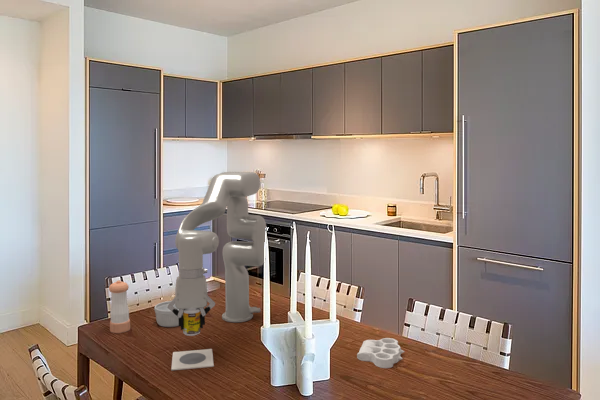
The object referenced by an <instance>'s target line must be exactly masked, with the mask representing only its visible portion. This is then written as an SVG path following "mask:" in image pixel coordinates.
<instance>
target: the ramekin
mask: <svg viewBox="0 0 600 400" xmlns="http://www.w3.org/2000/svg"><path fill="white" fill-rule="evenodd" d="M171 301H172V300H166V301H162V302H159V303H157V304H155V306H154V314H155V320H156V322H157V324H158V325H159V326H161V327H163V328H174V327H175V328H176V327H179V319H178V317H177V316H176V315H175V314H174V313H173V312H172V311H171V310H169V309H168V308H167V306H168V304H169V303H170V302H171ZM173 307H174V308H176V305H175V304H174V305H173ZM176 309H177V310H178V311H179V309H178V308H176ZM182 315H183V313H182Z"/></svg>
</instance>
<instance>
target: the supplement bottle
mask: <svg viewBox="0 0 600 400" xmlns="http://www.w3.org/2000/svg"><path fill="white" fill-rule="evenodd" d="M200 314H201V311H200V309H199V308H189V309H184V310H183V330H182V333H183V334H184V335H185V336H190V337H192V336H196V335H199V334H200V333H201V329H202V328H201V323H200Z"/></svg>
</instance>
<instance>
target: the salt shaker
mask: <svg viewBox="0 0 600 400" xmlns="http://www.w3.org/2000/svg"><path fill="white" fill-rule="evenodd" d="M129 287H130V286H129V284H128V283H127V282H125V281H121V280H116V281H115V282H113V283H111V284H110V285H109V287H108V291H109V293H111V294H110V295H111V296H110V297H111V298H110V299H111V303H110V312H109V314H110V321H109V331H110V332H111V333H112V334H121V333H122V334H123V333H125V332H128V331H130V330H131V319H130V309H129V305H128V297H127V296H128V295H127V293H128V292H127V291H128V290H129V289H130V288H129Z"/></svg>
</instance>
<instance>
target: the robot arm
mask: <svg viewBox="0 0 600 400" xmlns="http://www.w3.org/2000/svg"><path fill="white" fill-rule="evenodd" d="M260 187H261V178H260V176H259V175H258V173H256V172H253V171H252V172H250V171H249V172H248V171H223V172H220V173H218V174H215V175H214V176H212V178H211V180H210V183H209V186H208V188H207V191H206V193H205V196H204V198H203V201H202V203H201V204H200V205H198V206H197V207H195V208H194V209H193V210H191V211H190V212H189V213H188V214H187V215H185V217H184V218H183V219H182V220H181V222H180V225H179V228H178V230H177V232H176V235H175V239H174V243H175V247H176V249H177V250H178V276H177V277H176V280H175V292H174V293H175V294H174V295H175V296H174V298H173V299H172V300H170V301H171V302H170V303H169V304H168V306H167V308H168V309H169V310H171V311H172V312H173V313H174V314H175V315H176V316H177V317H178V319H179V326H178V327H180V330H181V331H183V315H182V313H183V310H184V309H189V308H199V309H200V323H201V329H203V328H204V326H205V325H206V316H207V314H208V313H209V312H210V311H211V310H212V309H213V308H214V307H215V305H216V302H215V300H213V299H212V298H211V297H210V296H209V295H208V285H207V278H206V275H205V274H207V273H208V268H204V261H203V256H204V255H208V254H212V253H214V252H215V251H216V250H218V247H219V244H220V240H219V239H220V238H219V236H218V234H217V233H215V232H213V231H210V230H195V229H196V228H198V227H199V226H201V225H203V224H205V223H209V222H212V221H213V220H217V219H218V218H220V217H223V215H224V214H225V213H226V232H227V235H228V236H229V237H230V238H234V239H245V240H246V239H247V240H249V239H250V240H252V241H239V240H238V241H237V240H232V241H229V242H227V243H225V244H224V245H223V247H222V258H223V263H224V276H225V277H224V278H225V280H224V281H225V283H224V284H225V288H224V289H225V312H223V313H222V315H221V319H222V320H223V321H225V322H228V323H243V322H249V321H250V320H251V319H253V318H254V314H255V313H261V307H257V306H251V305H250V281H249V280H250V277H249V272H248V270H247V268H246V267H247V266H249V267H261V266H263V265H264V264H265V262H264V242H265V228H266V229H267V223H266V219H265V218H264V217H263V216H261V215H256V214H255V215H254V214H249V202H248V201H249V200H248V199H247V197H250V196H253V195H256V194H257V193H258V192H259V190H260ZM245 266H246V267H245ZM208 303H209V304H208ZM174 304H175V305H176V308H178V309H179V311H178V310H177V309H176V308H174V307H173V305H174Z"/></svg>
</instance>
